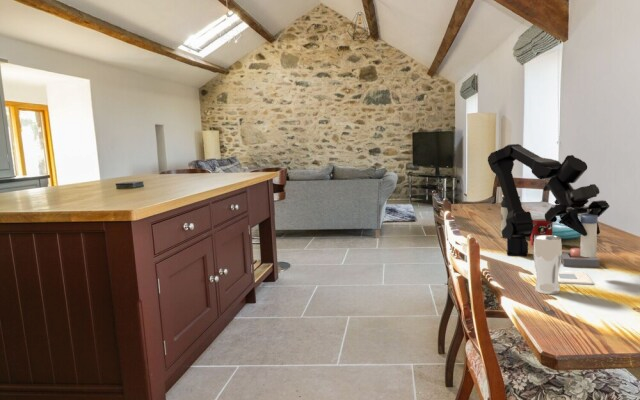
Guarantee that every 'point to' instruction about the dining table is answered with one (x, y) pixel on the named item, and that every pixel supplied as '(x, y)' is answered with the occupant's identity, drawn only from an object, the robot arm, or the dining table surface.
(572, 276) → the cream square base plate
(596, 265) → the button housing
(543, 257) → the beer glass
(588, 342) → the dining table surface
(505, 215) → the travel mug
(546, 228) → the canned food
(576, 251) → the button
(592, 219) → the blue capped bottle
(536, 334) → the dining table surface
